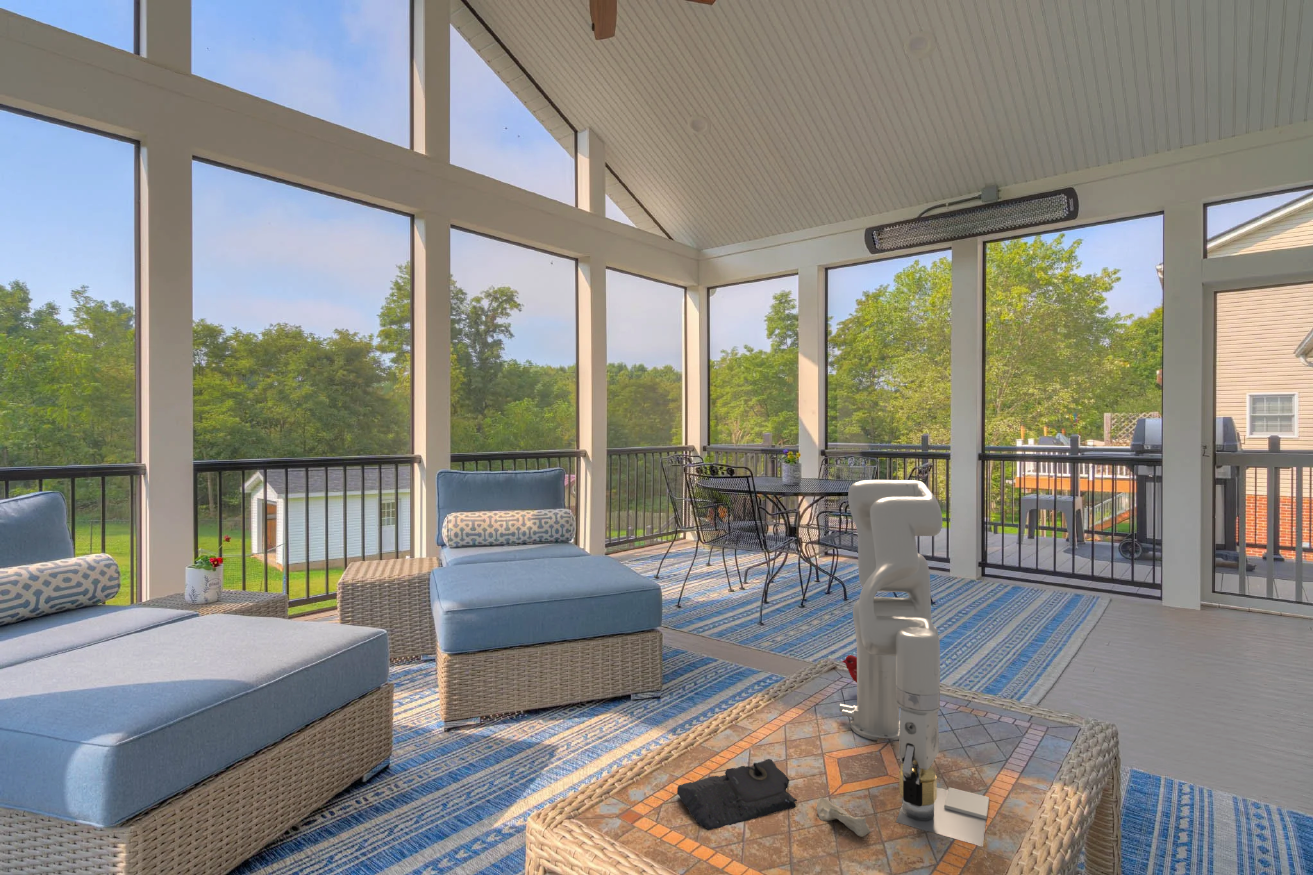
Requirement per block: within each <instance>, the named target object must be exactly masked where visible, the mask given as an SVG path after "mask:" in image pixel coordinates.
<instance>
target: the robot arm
mask: <svg viewBox="0 0 1313 875" xmlns="http://www.w3.org/2000/svg"><path fill="white" fill-rule="evenodd" d="M847 493H848V495H847V498H848V499H847V500H848V506H849V511H850V515H851V517H852V520H853V522H854V525H855V529H856V532H857V552H858V553H857V559H858V560H857V565H858V578H859V583H860V585H861V587H862V589H861V591H860V594H859V598H858V600H857V601H856V602H855V603H854V604H853V606H852V619H853V624H854V625H853V627H854V631H855V639H856V657H857V683H856V705H855V704H854V705H849V704H843V703H840V704H839V712H841V715H842V716H843V717H849V718H851V720H850V728H851V730H852V731H853V732H854V733H856V734H857V735H858V736H860V737H863V738H865V739H868V740H872V741H878V740H879V739H888V740H892V741H898V755H899V761H900V764H901V763H902V764H903V800H904V801H905V802H908V803H911V804H914V805H917V806H922V783H920V782H921V770H922V769H923V770H927V769H929V768H930V766H932V765H933V763H934V761H935V760H936V758H937V756H938V755H939V751H940V734H939V733H940V732H939V715H938V712H939V711H940V710H941V688H940V687H941V661H940V660H941V643H940V642H941V641H940V638H939V631H938V628H937V627H936V626H935V625H934V623H933V622H932V603H931V602H932V601H931V598H932V597H931V596H932V595H931V594H932V593H931V575H930V574H931V572H930V568H929V564H928V561H927V560H926V558H925V557H924V555H922V554H921V553H919V552H918V548H917V541H916V537H935V536H937V535H939V533H940V532H941V531H942V529H943V513H942V510H941V506H940V504H939V502H938V499H937V498H936V497H935V494H934V493H933V492H932V491H931V490H930V488H929V486H927V484H926V483H924V482H923V481H920V480H914V479H913V480H912V479H910V480H909V479H908V480H907V479H901V480H900V479H896V480H895V479H866V480H865V479H864V480H860V481H859V480H858V481H856V482H854V483H852V484H851V485H850V486H849V489H848V492H847ZM878 592H883V593H905V594H908V597H894V596H893V597H891V596H876V595H877V593H878ZM913 760H914V761H917V763H918V765H917V764H913ZM912 768H916V769H917V774H915V772H913V770H912Z"/></svg>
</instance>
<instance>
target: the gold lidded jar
mask: <svg viewBox="0 0 1313 875" xmlns="http://www.w3.org/2000/svg"><path fill="white" fill-rule="evenodd" d="M913 764H917V765H918V763H917V761H914V760H913ZM912 770H913V772H915V774H917V769H916V768H912ZM936 774H937V772H936V769H935V768H934V767H933V766H932V765H931V766H930V768H929V769H927V770H923V769H922V770H921V782H920V783H922V805H931V804H934V802H935V801H936V799H937V786H938V785H937V784H938V780H937V778H938V777H937V775H936ZM898 778H899V782H898V783H899V795H900V796H901V797H903V764H902V763H901V762H900V769H899V775H898Z"/></svg>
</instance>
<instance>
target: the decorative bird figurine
mask: <svg viewBox="0 0 1313 875" xmlns="http://www.w3.org/2000/svg"><path fill="white" fill-rule="evenodd" d="M841 663H844V664H845V667H846V668H847V670H848V673H849V675H850V677H851V679H852V680H853V681H854V682H855V683H856V684H857V656H855V655H852V654H849V655H847V656H846V657H845V659H844V660H842V661H841Z"/></svg>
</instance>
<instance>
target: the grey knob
mask: <svg viewBox="0 0 1313 875" xmlns="http://www.w3.org/2000/svg"><path fill="white" fill-rule="evenodd" d="M901 797H902V796H901ZM901 802H902V804H901V806H902V810H903V813H904V814H905V815H906V816H907V817H909V818H911V819H913V820H917V821H930V820H932V819H933V818H934V804H931V805H922V806H917V805H914V804H911V803H908V802H905V801H904V800H903V797H902V801H901Z"/></svg>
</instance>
